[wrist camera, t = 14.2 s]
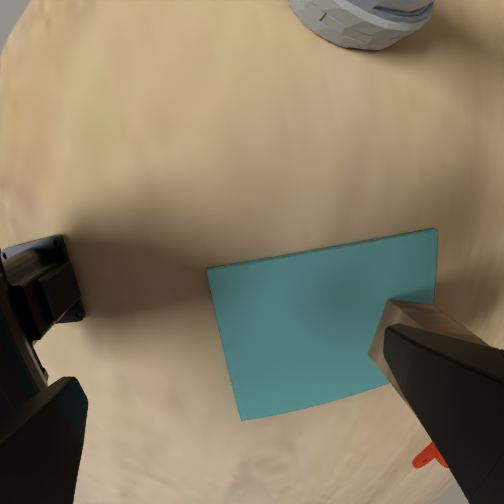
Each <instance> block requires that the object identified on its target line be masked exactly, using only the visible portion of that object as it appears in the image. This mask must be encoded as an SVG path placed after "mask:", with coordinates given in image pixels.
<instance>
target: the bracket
mask: <svg viewBox="0 0 504 504" xmlns="http://www.w3.org/2000/svg"><path fill="white" fill-rule="evenodd" d="M434 458H436V459H437V461H438V462H439V463H440V464H441V465H442V466H444V467H446V468H449V467H448V466H447V464H446V462H445V461H444V459H443V458H442V456H441V454H440V453H439V451H438V449H437V448H436V446H435V444H434V443H433V442H431V443H430V444H429V445H428V446H427V447H426V448H425V449H424V450H423V451H422V452H421V453H420V454H419V455H417V456H416V457H415V459H414V460H413V462H412V464H413V466H414V467H415V468H421V467H423V466H425V465H426V464H428V463H429V462H430V461H431V460H433V459H434Z"/></svg>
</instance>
